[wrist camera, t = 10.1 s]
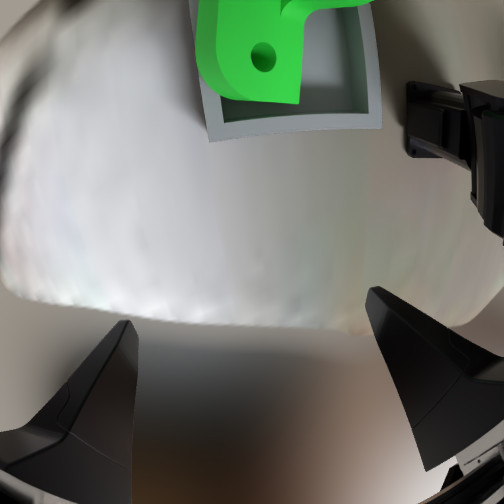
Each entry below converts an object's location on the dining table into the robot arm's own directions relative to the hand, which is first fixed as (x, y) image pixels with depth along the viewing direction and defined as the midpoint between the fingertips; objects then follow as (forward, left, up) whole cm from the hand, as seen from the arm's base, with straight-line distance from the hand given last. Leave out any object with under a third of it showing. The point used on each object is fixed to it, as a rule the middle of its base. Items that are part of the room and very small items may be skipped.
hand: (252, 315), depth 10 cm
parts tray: (-5, -13, -12) cm, 18 cm away
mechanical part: (-2, -13, -10) cm, 16 cm away
